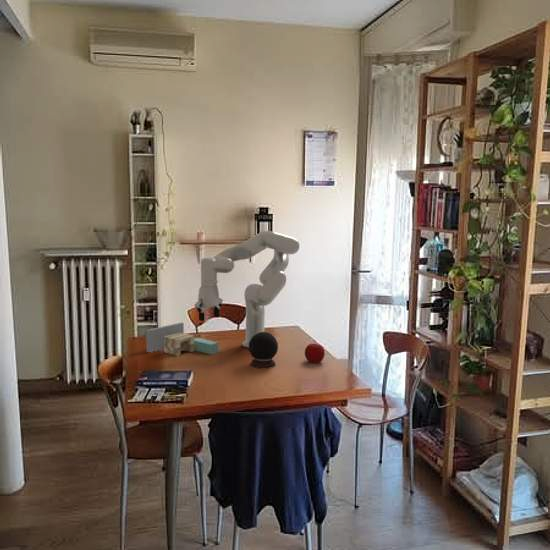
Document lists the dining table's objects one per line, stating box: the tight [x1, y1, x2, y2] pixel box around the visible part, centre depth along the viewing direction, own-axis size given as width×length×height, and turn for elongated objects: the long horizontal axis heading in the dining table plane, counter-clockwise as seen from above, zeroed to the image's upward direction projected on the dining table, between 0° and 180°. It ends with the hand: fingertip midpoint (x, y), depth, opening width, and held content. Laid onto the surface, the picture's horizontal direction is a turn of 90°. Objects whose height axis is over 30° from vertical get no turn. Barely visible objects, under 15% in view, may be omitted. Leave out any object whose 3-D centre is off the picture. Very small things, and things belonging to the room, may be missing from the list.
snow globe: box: [248, 331, 279, 369], centre depth 239 cm, size 13×13×15 cm
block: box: [163, 332, 195, 357], centre depth 257 cm, size 9×11×8 cm
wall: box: [145, 322, 185, 353], centre depth 263 cm, size 2×22×11 cm, turn 141°
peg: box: [194, 337, 219, 355], centre depth 261 cm, size 14×5×5 cm, turn 51°
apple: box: [304, 340, 326, 364], centre depth 245 cm, size 9×9×10 cm
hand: (209, 318), depth 257 cm, fingers open, 9 cm apart
